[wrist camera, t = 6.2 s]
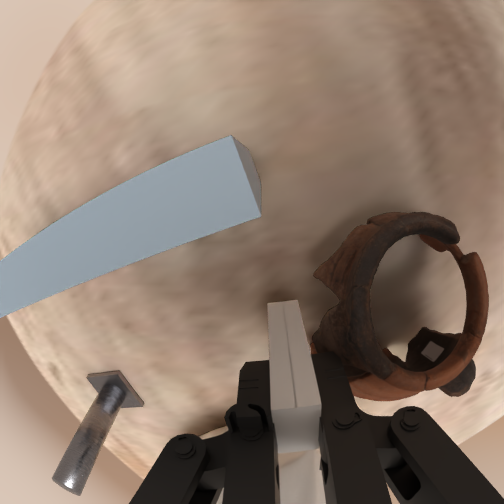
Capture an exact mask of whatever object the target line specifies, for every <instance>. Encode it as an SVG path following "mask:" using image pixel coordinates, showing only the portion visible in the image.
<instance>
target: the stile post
mask: <svg viewBox="0 0 504 504" xmlns="http://www.w3.org/2000/svg"><path fill="white" fill-rule="evenodd" d="M86 378H87V379H88V380H89V382H90V383H91V384H92V386H93V387H94V388H95V389H96V391H97V392H98V395H97V397H96V398H95V400H94V402H93V404H92V405H91V407H90V409H89V410H88V412H87V414H86V416H85V417H84V419H83V421H82V423H81V424H80V426H79V428H78V430H77V432H76V433H75V435H74V437H73V439H72V441H71V443H70V445H69V446H68V448H67V450H66V452H65V454H64V456H63V458H62V460H61V461H60V463H59V466H58V467H57V469H56V471H55V473H54V475H53V477H52V479H53V481H54V482H55V483H57V484H58V485H59V486H61V487H63V488H64V489H66V490H67V491H69V492H71V493H73V494H76V495H78V496H80V495H81V493H82V490H83V488H84V486H85V484H86V481H87V479H88V477H89V474H90V472H91V470H92V468H93V465H94V463H95V461H96V459H97V456H98V454H99V452H100V450H101V448H102V445H103V443H104V441H105V439H106V437H107V435H108V433H109V431H110V428H111V426H112V424H113V422H114V420H115V418H116V416H117V414H118V412H119V410H120V408H130V407H143V405H144V402H143V401H142V400H141V398H140V397H139V396H138V395H137V393H136V392H135V391H134V390H133V388H132V387H131V386H130V384H129V383H128V382H127V380H126V379H125V378H124V376H123V375H122V374H121V372H120V371H113V372H106V373H97V374H88V376H87V377H86Z"/></svg>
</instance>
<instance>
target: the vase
mask: <svg viewBox="0 0 504 504" xmlns="http://www.w3.org/2000/svg"><path fill="white" fill-rule="evenodd" d="M226 431H228V427H227V426H225V427H222V428H218V429H215V430H212V431H210V432H208V433H206V434H203V435H201V436H198V437H200V438H201V439H202V440H203V439H207V438H211V437H215V436H218V435H221V434H223V433H225V432H226ZM320 459H321V454H320V448H319V449H314V450H307V451H299V452H289V453H278V462H279V475H280V504H326V500H325V492H324V485H323V478H322V471H321V470H319V468H320ZM223 490H224V488H223V489H222V492H221V494H220V496H219V499H218V501H217V503H216V504H222V500H223Z"/></svg>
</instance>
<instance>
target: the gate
mask: <svg viewBox="0 0 504 504" xmlns="http://www.w3.org/2000/svg"><path fill="white" fill-rule="evenodd" d="M259 217H261V181H260V178H259V176H258V173H257V170H256V167H255V165H254V162H253V159H252V156H251V154H250V151H249V150H248V149H247V148H246V147H245V146H243V145H242V144H241V143H240V142H239V141H238V140H236V139H235V138H234V137H233V136H232V135H230V136H228V137H225V138H222V139H220V140H217V141H214V142H212V143H209V144H207V145H204V146H202V147H199V148H197V149H195V150H192V151H190V152H187V153H185V154H183V155H180V156H178V157H176V158H174V159H171V160H169V161H167V162H165V163H163V164H160V165H158V166H156V167H154V168H152V169H150V170H148V171H146V172H144V173H141V174H139V175H137V176H135V177H133V178H131V179H129V180H128V181H126V182H124V183H122V184H120V185H118V186H116V187H114V188H112V189H110V190H109V191H107V192H105V193H103V194H101V195H99V196H98V197H96V198H94V199H92V200H91V201H89V202H87V203H85V204H84V205H82V206H80V207H79V208H77V209H75V210H74V211H72V212H70V213H69V214H67V215H65V216H64V217H62V218H61V219H59V220H58V221H56V222H54V223H53V224H51V225H50V226H48V227H47V228H45V229H44V230H42V231H41V232H39V233H38V234H36V235H35V236H33V237H32V238H31V239H29V240H28V241H26V242H25V243H23V244H22V245H21V246H19V247H18V248H17V249H15V250H14V251H13V252H11V253H10V254H9V255H7V256H6V257H5V258H3V259H2V260H1V261H0V318H1V317H3V316H6V315H8V314H10V313H12V312H15V311H17V310H19V309H21V308H24V307H26V306H28V305H31V304H33V303H35V302H38V301H40V300H42V299H45V298H47V297H50V296H52V295H54V294H57V293H59V292H62V291H64V290H66V289H69V288H71V287H74V286H76V285H79V284H81V283H83V282H86V281H88V280H91V279H93V278H96V277H98V276H101V275H104V274H106V273H109V272H111V271H114V270H116V269H119V268H121V267H124V266H127V265H129V264H132V263H134V262H137V261H140V260H142V259H145V258H147V257H150V256H153V255H155V254H158V253H161V252H163V251H166V250H169V249H172V248H174V247H177V246H180V245H182V244H185V243H188V242H191V241H193V240H196V239H199V238H202V237H204V236H207V235H210V234H213V233H216V232H219V231H221V230H224V229H227V228H230V227H233V226H236V225H239V224H241V223H244V222H247V221H250V220H253V219H256V218H259Z"/></svg>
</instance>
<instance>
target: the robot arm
mask: <svg viewBox="0 0 504 504" xmlns="http://www.w3.org/2000/svg"><path fill="white" fill-rule="evenodd" d="M267 307H268V334H269V360H264V361H252V362H246V363H245V364H244V366H243V367H242V368H241V370H240V375H239V386H238V396H237V404H235V405H233V406H232V407H231V408H230V409H229V410H228V411H227V412H226V415H225V417H224V418H225V421H226V424H227V427H228V431H226V432H225V433H223V434H221V435H218V436H215V437H211V438H207V439H203V440H202V439H201V438H200V437H198V436H196V435H194V434H182V435H177V436H176V437H174V438H172V439H171V440H170V441H169V442H168V443H167V444H166V446H165V447H164V449H163V450H162V452H161V454H160V455H159V457H158V459H157V460H156V462H155V463H154V465H153V467H152V468H151V470H150V471H149V473H148V475H147V476H146V478H145V479H144V481H143V483H142V484H141V486H140V487H139V489H138V491H137V492H136V494H135V495H134V497H133V498H132V500H131V501H130V503H129V504H216V503H217V501H218V499H219V496H220V494H221V492H222V489H223V488H224V490H223V500H222V504H280V475H279V462H278V453H289V452H299V451H307V450H314V449H319V448H320V454H321V459H320V468H319V470H321V471H322V478H323V485H324V492H325V500H326V504H392V502H391V498H390V495H389V491H388V488H387V484H388V486H389V488H390V489H391V490H392V492H393V493H394V495H395V497H396V498H397V500H398V501H399V503H400V504H504V499H503V498H502V496H501V495H500V494H499V493H498V492H497V490H496V489H495V488H494V487H493V486H492V485H491V483H490V482H489V481H488V480H487V479H486V478H485V477H484V476H483V474H482V473H481V472H480V471H479V470H478V469H477V467H476V466H475V465H474V464H473V463H472V462H471V461H470V460H469V458H468V457H467V456H466V455H465V454H464V453H463V452H462V451H461V449H460V448H459V447H458V446H457V445H456V444H455V443H454V442H453V441H452V439H451V438H450V437H449V436H448V435H447V434H446V433H445V432H444V431H443V430H442V428H441V427H440V426H439V425H438V424H437V423H436V422H435V421H434V420H433V419H432V417H431V416H430V415H429V414H428V413H427V412H426V411H424V410H423V409H422V408H419V407H415V406H407V407H404V408H401V409H399V410H398V411H397V412H395V413H394V415H393V416H372V415H369V414H366V413H364V412H363V411H361V410H360V409H359V408H358V406H357V404H356V402H355V399H354V396H353V393H352V390H351V387H350V384H349V381H348V378H347V377H346V373H345V370H344V367H343V364H342V361H341V358H340V357H339V356H337V355H336V354H335V353H334V352H333V351H330V352H323V353H317V354H310V349H309V345H308V341H307V336H306V332H305V328H304V324H303V320H302V315H301V311H300V307H299V303H298V300H291V301H283V302H274V303H267ZM386 483H387V484H386Z"/></svg>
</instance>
